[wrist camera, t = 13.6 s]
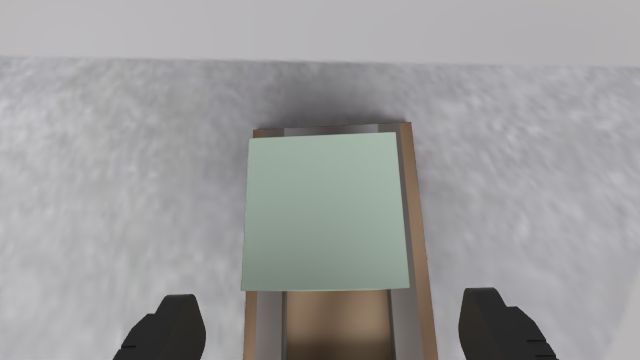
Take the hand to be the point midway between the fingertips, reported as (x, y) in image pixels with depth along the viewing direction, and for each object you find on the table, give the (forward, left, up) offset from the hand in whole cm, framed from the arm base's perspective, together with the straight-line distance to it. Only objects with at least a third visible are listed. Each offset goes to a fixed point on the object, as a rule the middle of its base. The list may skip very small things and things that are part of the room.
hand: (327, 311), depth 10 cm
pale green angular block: (0, +3, -13) cm, 13 cm away
